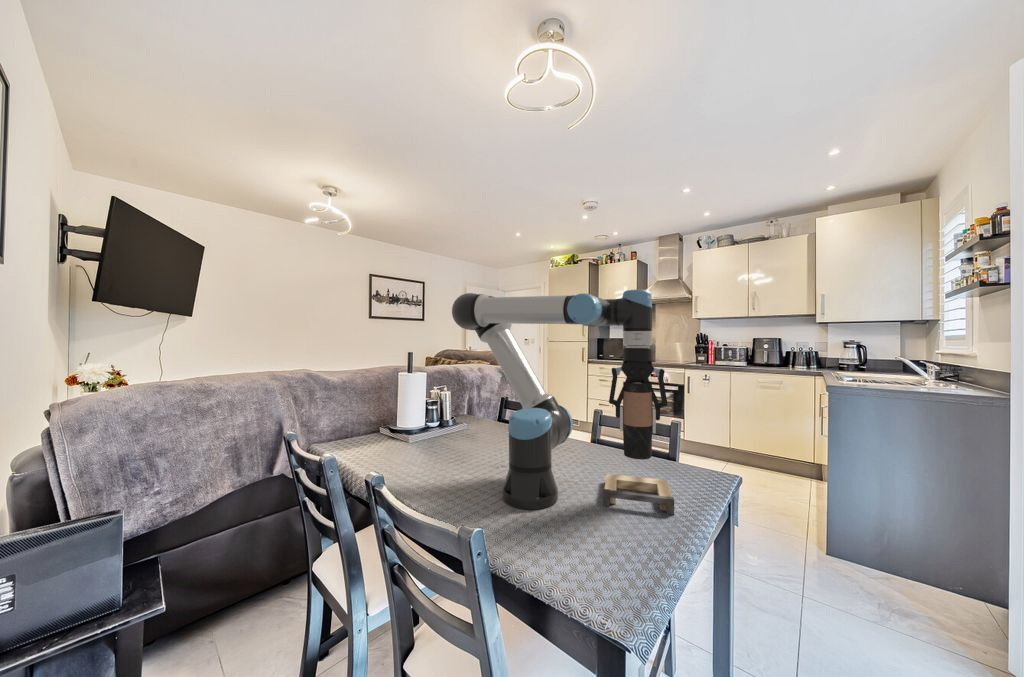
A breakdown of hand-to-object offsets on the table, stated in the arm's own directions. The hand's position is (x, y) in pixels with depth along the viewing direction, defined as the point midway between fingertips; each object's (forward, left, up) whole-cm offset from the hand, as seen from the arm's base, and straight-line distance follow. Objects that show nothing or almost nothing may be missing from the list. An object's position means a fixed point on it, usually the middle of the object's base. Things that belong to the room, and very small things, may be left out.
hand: (637, 430), depth 101 cm
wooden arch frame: (0, +1, -18) cm, 18 cm away
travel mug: (0, 0, -7) cm, 7 cm away
